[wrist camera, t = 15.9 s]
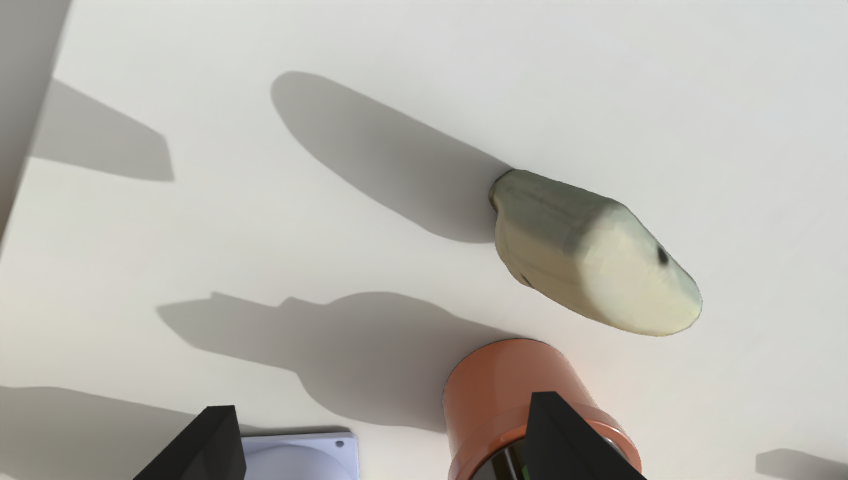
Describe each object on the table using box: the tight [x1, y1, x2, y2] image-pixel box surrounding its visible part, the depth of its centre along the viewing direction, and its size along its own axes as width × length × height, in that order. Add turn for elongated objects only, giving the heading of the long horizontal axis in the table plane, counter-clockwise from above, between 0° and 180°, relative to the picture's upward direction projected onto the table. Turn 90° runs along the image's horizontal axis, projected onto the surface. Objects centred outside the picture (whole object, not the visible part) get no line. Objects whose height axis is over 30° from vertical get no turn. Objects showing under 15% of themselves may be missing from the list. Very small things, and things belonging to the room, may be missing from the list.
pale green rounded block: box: [489, 169, 703, 337], centre depth 15 cm, size 6×5×8 cm
